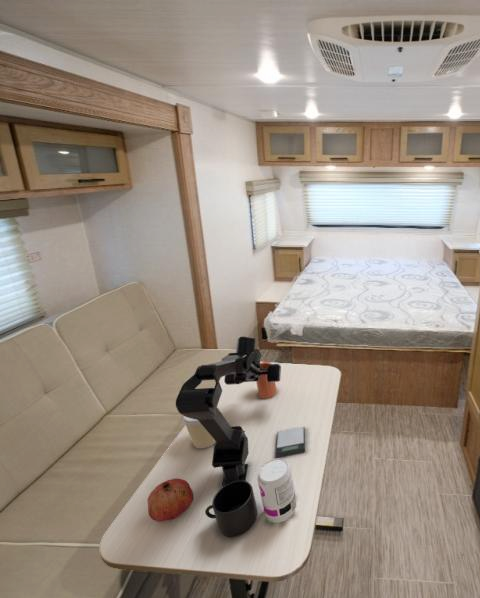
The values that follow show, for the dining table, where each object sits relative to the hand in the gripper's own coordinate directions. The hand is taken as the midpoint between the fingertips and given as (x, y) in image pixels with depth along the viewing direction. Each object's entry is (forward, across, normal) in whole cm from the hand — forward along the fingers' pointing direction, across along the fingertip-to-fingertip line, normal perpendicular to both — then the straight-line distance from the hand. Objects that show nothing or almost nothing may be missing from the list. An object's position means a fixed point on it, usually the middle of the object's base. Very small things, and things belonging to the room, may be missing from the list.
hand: (260, 378), depth 130 cm
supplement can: (-25, -16, +41) cm, 51 cm away
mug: (-26, -4, +42) cm, 50 cm away
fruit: (-23, +13, +39) cm, 47 cm away
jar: (+12, 0, +4) cm, 13 cm away
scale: (-8, -14, +24) cm, 29 cm away
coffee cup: (-5, +15, +21) cm, 26 cm away
